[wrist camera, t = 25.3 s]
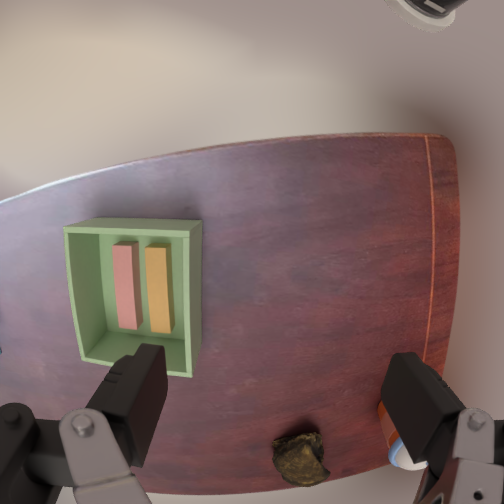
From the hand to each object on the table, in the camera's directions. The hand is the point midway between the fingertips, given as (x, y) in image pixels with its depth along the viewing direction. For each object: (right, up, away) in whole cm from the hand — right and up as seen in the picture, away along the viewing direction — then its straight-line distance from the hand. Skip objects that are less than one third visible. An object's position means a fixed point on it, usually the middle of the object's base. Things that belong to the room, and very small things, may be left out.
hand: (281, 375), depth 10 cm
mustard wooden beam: (-11, 0, +25) cm, 27 cm away
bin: (-13, +1, +25) cm, 28 cm away
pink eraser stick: (-15, +1, +24) cm, 29 cm away
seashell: (+7, -29, +32) cm, 44 cm away
